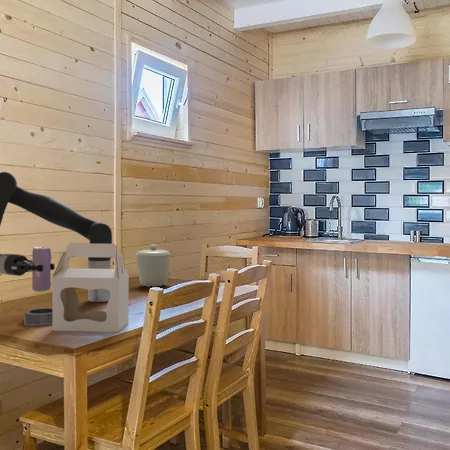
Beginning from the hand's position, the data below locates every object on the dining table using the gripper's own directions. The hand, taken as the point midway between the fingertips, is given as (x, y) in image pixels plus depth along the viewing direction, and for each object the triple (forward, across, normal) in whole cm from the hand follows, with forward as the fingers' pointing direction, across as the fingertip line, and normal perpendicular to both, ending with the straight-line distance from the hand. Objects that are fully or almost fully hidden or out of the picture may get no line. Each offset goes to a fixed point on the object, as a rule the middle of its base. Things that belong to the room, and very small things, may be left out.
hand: (48, 267), depth 181 cm
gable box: (+18, +1, +19) cm, 26 cm away
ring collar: (-2, 0, +19) cm, 19 cm away
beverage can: (-3, 0, +8) cm, 9 cm away
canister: (-10, +86, +19) cm, 88 cm away
